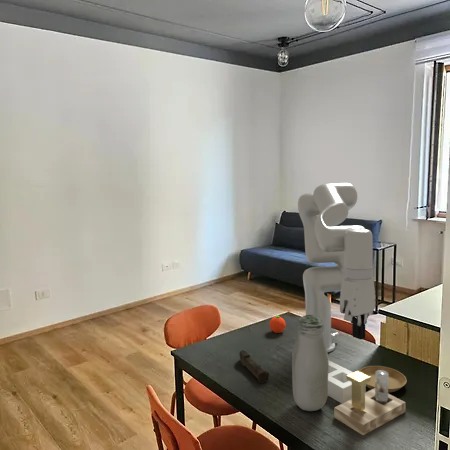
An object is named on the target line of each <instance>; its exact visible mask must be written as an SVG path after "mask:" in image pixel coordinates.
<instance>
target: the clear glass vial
mask: <svg viewBox="0 0 450 450" xmlns="http://www.w3.org/2000/svg"><path fill="white" fill-rule="evenodd" d="M388 394H389V393H388V372H386V371H383V370H377V371H376V372H375V401H376V402H378V403H380V404H382V405H384V404H386V403H388Z"/></svg>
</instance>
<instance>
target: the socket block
mask: <svg viewBox="0 0 450 450" xmlns="http://www.w3.org/2000/svg"><path fill="white" fill-rule="evenodd" d="M406 403H407V402H406V401H404V400H401V399H400V398H397V397H396V396H394V395H392V394H390V393H388V403H386V404H384V405H382V404H380V403H378V402H376V401H375V388H374V389H369V390H368V391H366V393H365V409H364V410H362V411H360V410H358V409H356V408H355V407H353V406H352V399H351V400H349V401H347V402H345V403H343V404H342V403H339V405H337V406H334V409H333V412H334V413H333V418H334V419H336V420H337V421H339V422H341V423H342V424H345V426H347V427H349V428H351V429H353V431H355V432H357V433H358V434H360V435H362V436H365V435H366V434H368V433H370V432H373V430H376V429H377V428H380V427H381V426H383V425H385V424H387V423H388V422H390V421H392V420H394V419H395V418H398V417H399V416H401V415H403V414H404V413H406Z"/></svg>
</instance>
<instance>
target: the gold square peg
mask: <svg viewBox="0 0 450 450" xmlns="http://www.w3.org/2000/svg"><path fill="white" fill-rule="evenodd" d="M352 372H353V373H351V374H349V375H347V380H349V381H351V382H352V406H353V407H355V408H356V409H358V410H360V411H362V410H364V409H365V383H367V382H369V381H370V376H367V375H365V374H363V373H361V372H359V370H356V371H352Z"/></svg>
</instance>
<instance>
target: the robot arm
mask: <svg viewBox="0 0 450 450" xmlns="http://www.w3.org/2000/svg"><path fill="white" fill-rule="evenodd" d="M357 202H358V191H357V189H356V188H355V186H354V185H353V184H352V183H349V182H340V183H339V182H338V183H337V182H336V183H323V184H320V185H318V186H316V187H315V189H314V190H313V192H307V193H304V194H301V195H300V196H299V198H298V200H297V209H298V215H299V217H300V220H301V222H302V225H303V231H304V232H303V233H304V235H303V236H304V249H305V251H304V252H305V258H306V260H307V262H308V263H311V264H335V265H333V266H332V265H331V266H330V265H329V266H313V267H309V268H307V269H305V270H304V272H303V274H302V281H303V289H304V299H305V315H316V316H318V317H319V318H320V319H321V320H322V323H323V326H324V330H323V336H324V342H325V346H326V350H327V353H331V352H333V351H334V350H335V349H336V343H335V342H334V339H337V338H339V337H340V334H339V332H334V333H332V305H331V300H330V299H329V297H327V295H325V293H328V292H329V293H330V292H340V296H339V299H340V300H339V311H340V313H341V314H343V315H344V317H343V319H344V321H347V322H350V324H352V327H351V330H352V331H351V332H352V338H356V339H359V340H364V339H366V325H367V323H368V318H369V316H371V315H372V314H373V313H374V310H375V309H376V290H375V289H376V288H375V281H374V277H373V276H374V275H373V274H374V273H373V272H374V271H373V268H374V267H373V263H374V262H373V254H374V253H373V252H374V251H373V247H374V246H373V244H374V243H373V242H374V241H373V233H372V231H371V229H366V228H365V227H364V226H362V225H340V224H342V223H343V222H344V221H345V220H346V219H347V218H348V215H349V211H350V210H351V209H353V208H354V207H355V205H356V203H357Z"/></svg>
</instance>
